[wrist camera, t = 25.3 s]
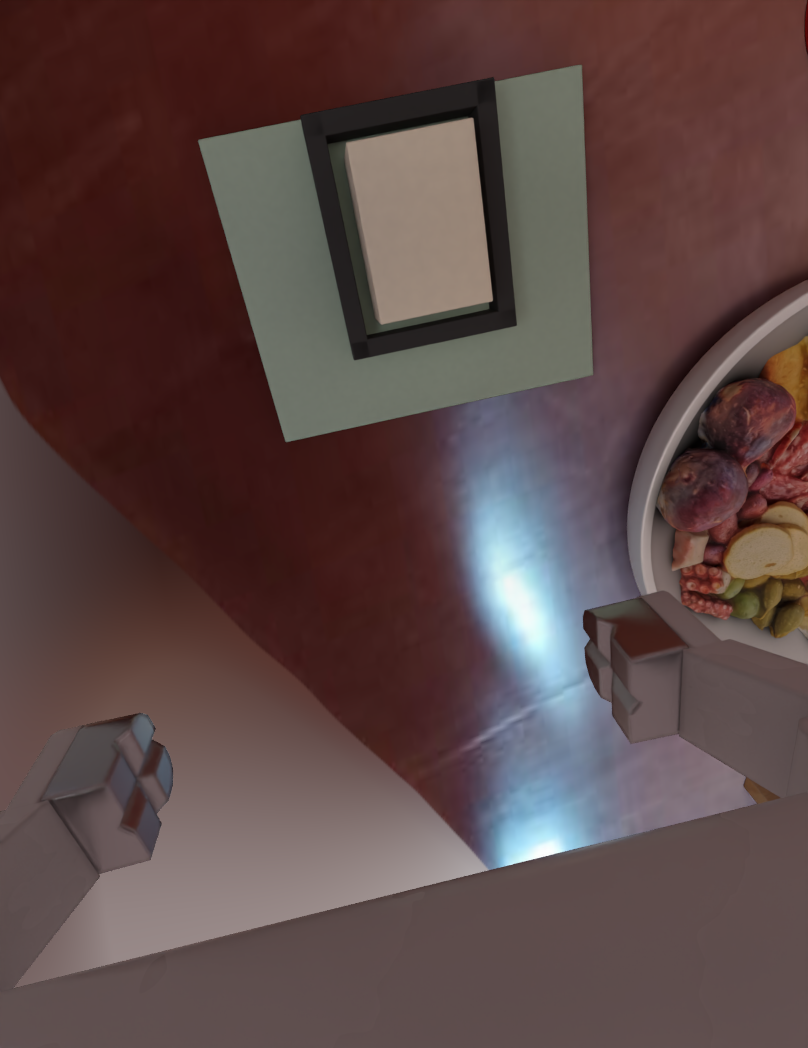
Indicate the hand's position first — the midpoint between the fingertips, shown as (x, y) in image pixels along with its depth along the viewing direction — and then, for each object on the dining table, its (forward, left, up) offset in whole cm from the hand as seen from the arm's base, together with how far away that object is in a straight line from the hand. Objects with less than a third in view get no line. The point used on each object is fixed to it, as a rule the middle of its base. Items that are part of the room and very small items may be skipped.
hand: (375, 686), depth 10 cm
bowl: (+32, -13, -27) cm, 44 cm away
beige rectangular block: (+6, +8, -26) cm, 28 cm away
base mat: (+6, +6, -27) cm, 28 cm away
